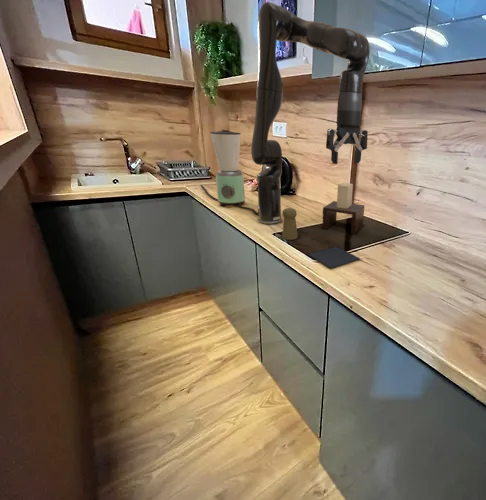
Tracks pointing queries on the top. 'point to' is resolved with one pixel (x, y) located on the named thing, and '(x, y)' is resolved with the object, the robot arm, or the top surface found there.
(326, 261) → the mat
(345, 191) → the block
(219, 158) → the green blender
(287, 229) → the olive pepper mill
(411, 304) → the top surface
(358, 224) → the shelf
